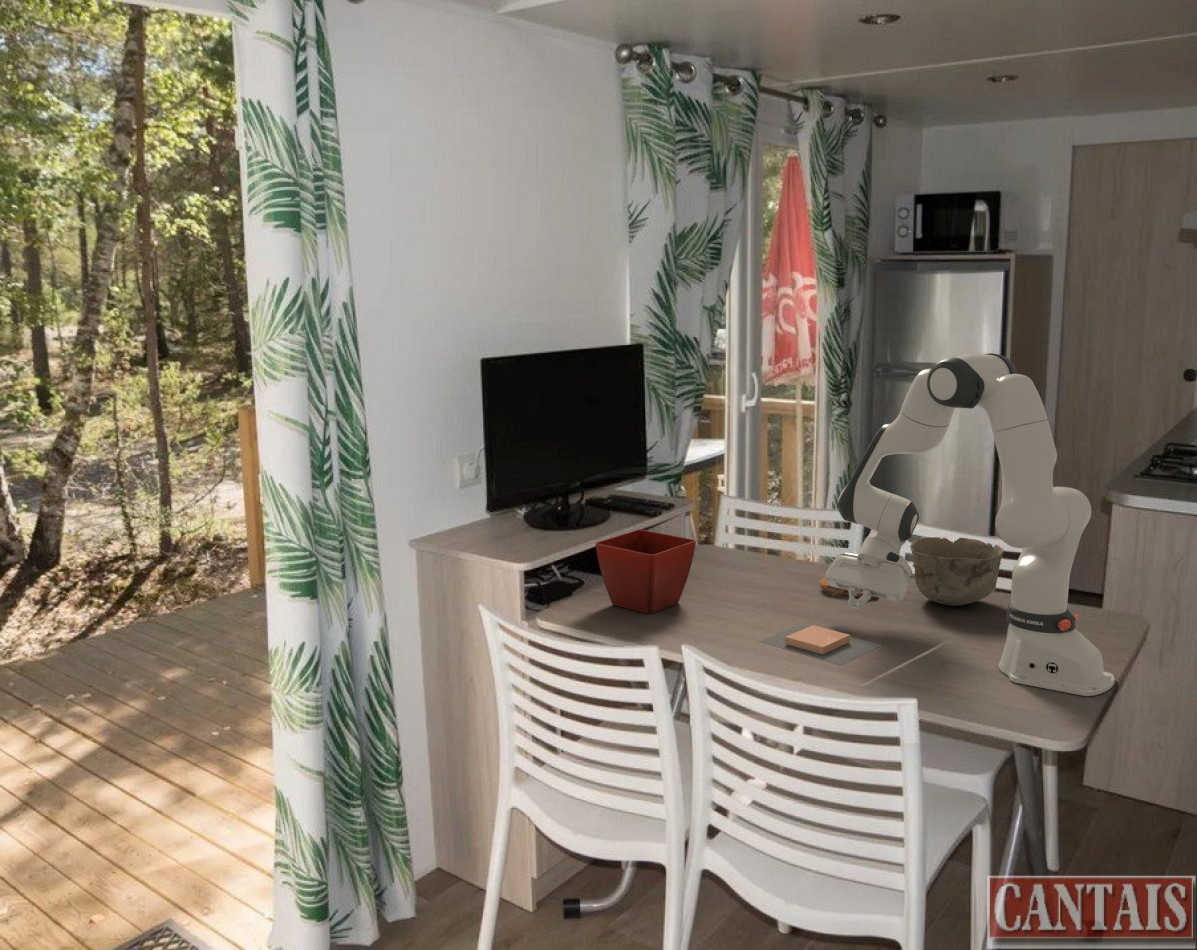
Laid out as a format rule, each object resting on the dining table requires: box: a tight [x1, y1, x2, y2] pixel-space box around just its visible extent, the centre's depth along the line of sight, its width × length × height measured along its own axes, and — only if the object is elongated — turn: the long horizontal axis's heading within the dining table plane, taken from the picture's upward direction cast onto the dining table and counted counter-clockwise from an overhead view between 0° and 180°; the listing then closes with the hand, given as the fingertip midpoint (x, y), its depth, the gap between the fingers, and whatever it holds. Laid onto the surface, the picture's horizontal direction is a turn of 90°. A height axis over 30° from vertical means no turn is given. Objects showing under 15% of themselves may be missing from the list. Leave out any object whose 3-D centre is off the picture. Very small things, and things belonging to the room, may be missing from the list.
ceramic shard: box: [819, 576, 878, 600], centre depth 286 cm, size 15×6×15 cm
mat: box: [758, 623, 883, 666], centre depth 245 cm, size 22×17×1 cm
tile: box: [785, 624, 851, 655], centre depth 244 cm, size 10×2×11 cm
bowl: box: [909, 536, 1004, 607], centre depth 272 cm, size 22×22×15 cm
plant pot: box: [594, 529, 697, 615], centre depth 275 cm, size 19×19×17 cm
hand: (853, 606), depth 253 cm, fingers closed
